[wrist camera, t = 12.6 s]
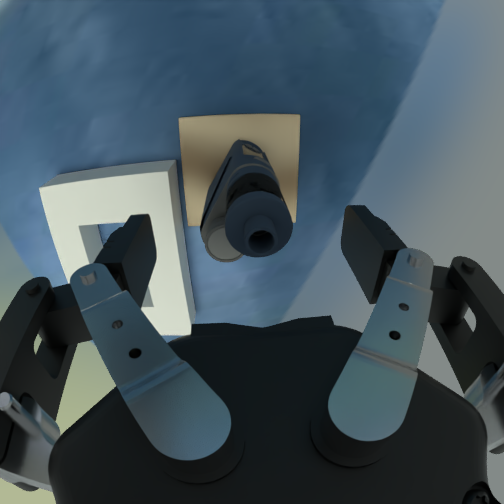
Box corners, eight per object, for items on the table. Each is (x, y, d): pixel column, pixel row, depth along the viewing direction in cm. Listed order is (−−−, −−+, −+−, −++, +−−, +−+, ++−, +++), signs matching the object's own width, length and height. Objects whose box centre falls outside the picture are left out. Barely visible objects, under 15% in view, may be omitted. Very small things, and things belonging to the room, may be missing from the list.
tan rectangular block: (180, 117, 19) (178, 118, 18) (298, 114, 19) (300, 115, 19) (189, 222, 23) (188, 226, 22) (294, 219, 23) (295, 222, 23)
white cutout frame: (58, 174, 20) (39, 187, 17) (176, 159, 20) (167, 171, 18) (98, 311, 27) (89, 332, 25) (195, 311, 28) (192, 335, 25)
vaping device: (272, 148, 20) (316, 228, 9) (235, 210, 22) (238, 334, 12) (238, 130, 19) (245, 190, 9) (203, 195, 21) (176, 311, 11)
